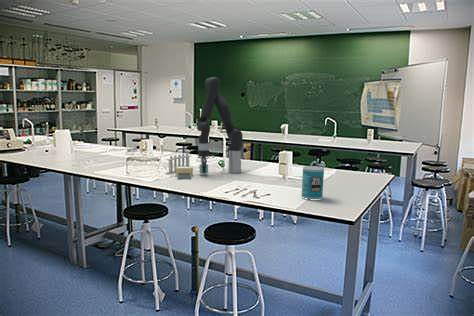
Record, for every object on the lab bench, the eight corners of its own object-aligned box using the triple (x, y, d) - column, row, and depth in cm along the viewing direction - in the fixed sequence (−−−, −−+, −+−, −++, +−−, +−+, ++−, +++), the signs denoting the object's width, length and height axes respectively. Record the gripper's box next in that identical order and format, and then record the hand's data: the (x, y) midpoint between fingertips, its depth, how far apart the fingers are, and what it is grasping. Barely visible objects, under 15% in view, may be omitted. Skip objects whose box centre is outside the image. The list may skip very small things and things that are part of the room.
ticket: (192, 174, 274) (192, 166, 272) (192, 176, 269) (192, 167, 268) (175, 174, 272) (175, 166, 271) (175, 176, 267) (175, 168, 266)
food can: (317, 202, 209) (318, 170, 206) (297, 198, 216) (299, 168, 213) (325, 197, 219) (327, 167, 216) (306, 194, 225) (308, 165, 222)
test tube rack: (170, 174, 273) (170, 157, 271) (165, 173, 275) (165, 156, 273) (192, 169, 294) (192, 153, 291) (187, 168, 296) (187, 152, 294)
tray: (190, 176, 268) (190, 172, 268) (191, 179, 259) (191, 175, 259) (177, 176, 267) (177, 173, 266) (177, 179, 258) (177, 175, 257)
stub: (207, 172, 275) (207, 164, 274) (208, 173, 270) (208, 165, 269) (199, 172, 274) (199, 164, 273) (199, 173, 269) (199, 165, 268)
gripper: (209, 150, 263) (209, 174, 266) (208, 147, 277) (208, 170, 279) (199, 150, 261) (199, 174, 264) (197, 147, 275) (198, 170, 278)
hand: (203, 172), depth 272 cm, fingers closed on stub, 5 cm apart
